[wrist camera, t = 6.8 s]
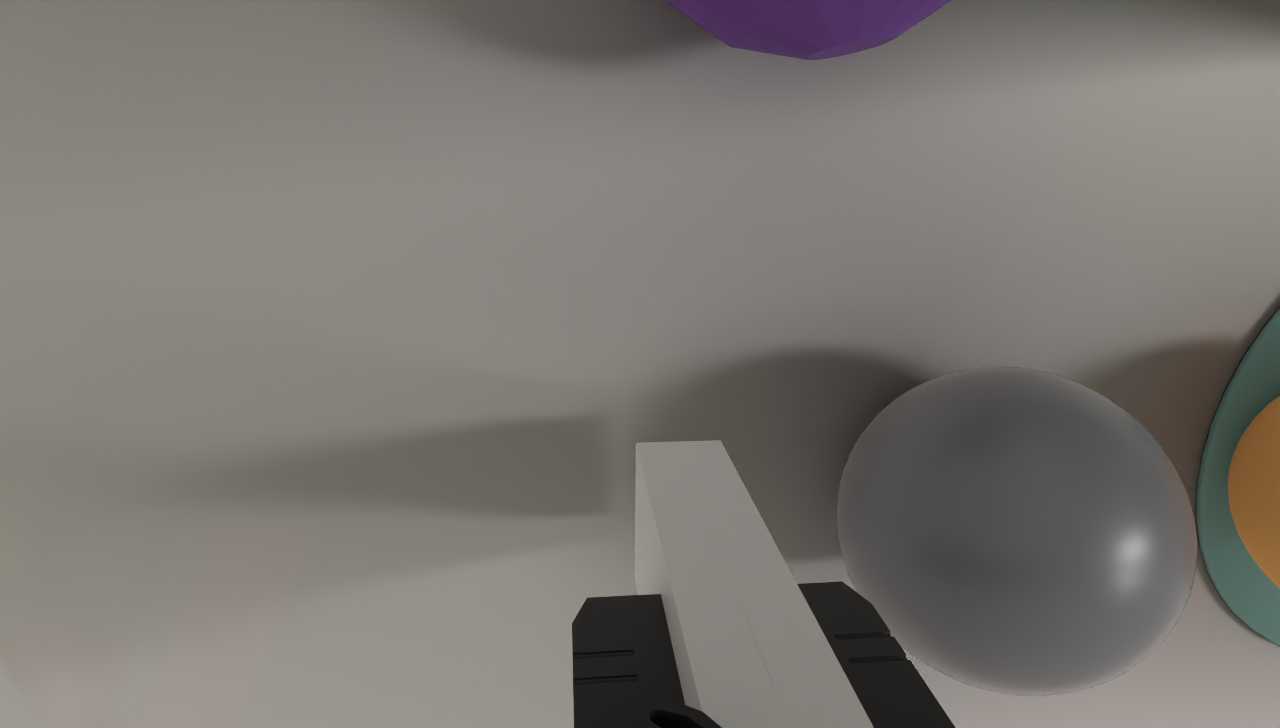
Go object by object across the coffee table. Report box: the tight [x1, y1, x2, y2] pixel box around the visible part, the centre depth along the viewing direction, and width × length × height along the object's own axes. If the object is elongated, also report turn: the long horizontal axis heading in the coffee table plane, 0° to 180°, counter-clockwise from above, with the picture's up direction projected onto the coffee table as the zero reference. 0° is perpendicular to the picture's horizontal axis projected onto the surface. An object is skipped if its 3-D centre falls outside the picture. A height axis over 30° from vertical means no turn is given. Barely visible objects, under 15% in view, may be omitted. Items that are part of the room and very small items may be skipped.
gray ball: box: [836, 367, 1198, 696], centre depth 13 cm, size 6×6×6 cm
